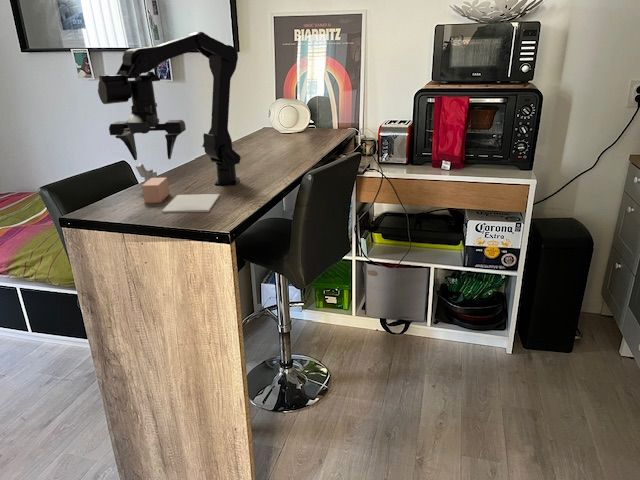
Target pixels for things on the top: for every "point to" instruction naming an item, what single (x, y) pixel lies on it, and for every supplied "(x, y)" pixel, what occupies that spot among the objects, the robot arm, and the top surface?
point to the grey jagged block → (146, 172)
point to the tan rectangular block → (155, 190)
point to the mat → (191, 203)
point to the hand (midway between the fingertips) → (152, 159)
